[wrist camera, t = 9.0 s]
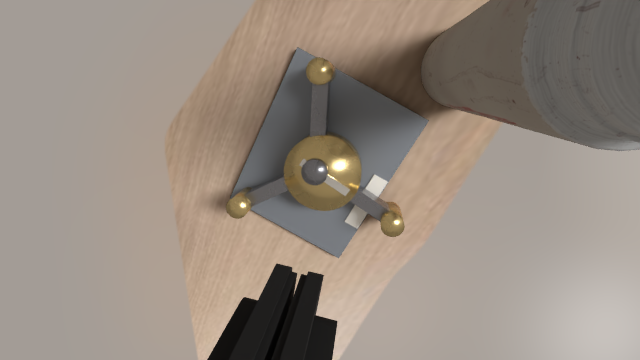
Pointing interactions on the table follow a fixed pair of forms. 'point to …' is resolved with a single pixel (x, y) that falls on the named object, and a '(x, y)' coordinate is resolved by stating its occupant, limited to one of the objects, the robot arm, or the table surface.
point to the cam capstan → (322, 167)
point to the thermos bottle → (545, 68)
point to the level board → (344, 119)
